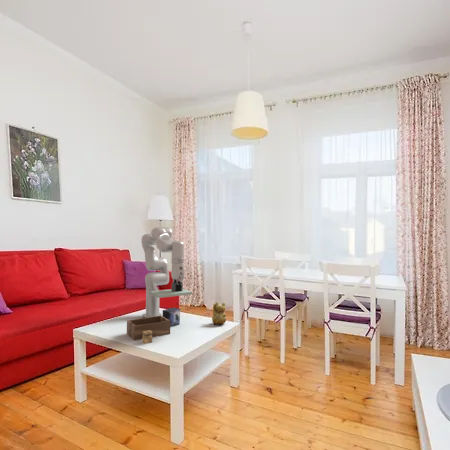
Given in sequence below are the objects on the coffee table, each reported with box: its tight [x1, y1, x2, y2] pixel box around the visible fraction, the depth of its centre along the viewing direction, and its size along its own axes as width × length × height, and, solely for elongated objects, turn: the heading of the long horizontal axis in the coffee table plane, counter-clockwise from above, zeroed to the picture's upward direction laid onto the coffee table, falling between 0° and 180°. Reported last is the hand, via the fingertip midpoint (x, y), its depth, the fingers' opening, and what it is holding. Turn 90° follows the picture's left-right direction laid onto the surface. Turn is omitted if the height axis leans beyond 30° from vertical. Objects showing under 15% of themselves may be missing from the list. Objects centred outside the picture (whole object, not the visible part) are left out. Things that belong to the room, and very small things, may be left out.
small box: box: [161, 307, 181, 328], centre depth 212 cm, size 11×6×10 cm, turn 143°
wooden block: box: [141, 330, 153, 345], centre depth 180 cm, size 4×4×6 cm
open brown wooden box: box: [126, 315, 171, 341], centre depth 194 cm, size 14×22×8 cm, turn 125°
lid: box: [150, 282, 193, 299], centre depth 200 cm, size 14×22×6 cm, turn 123°
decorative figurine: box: [211, 300, 227, 326], centre depth 216 cm, size 10×8×15 cm
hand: (177, 290), depth 202 cm, fingers closed on lid, 3 cm apart
